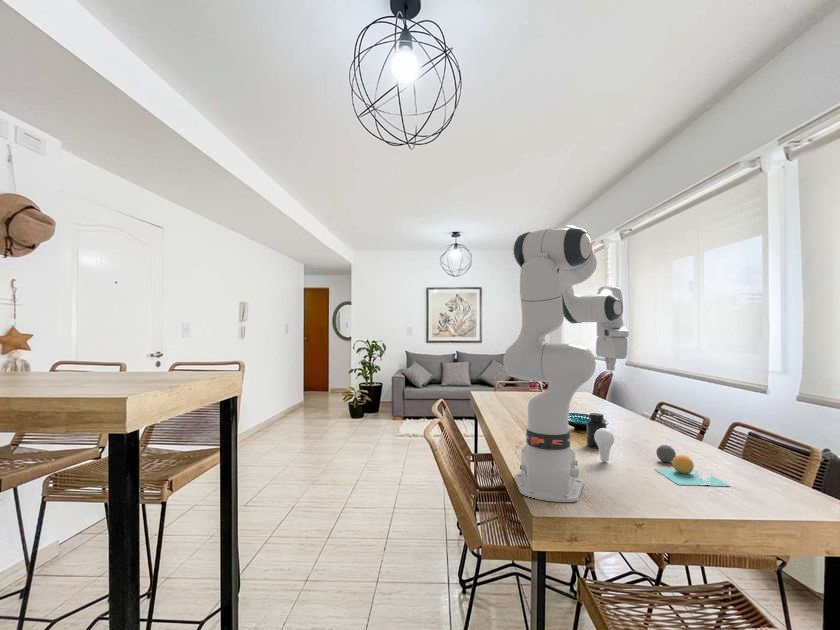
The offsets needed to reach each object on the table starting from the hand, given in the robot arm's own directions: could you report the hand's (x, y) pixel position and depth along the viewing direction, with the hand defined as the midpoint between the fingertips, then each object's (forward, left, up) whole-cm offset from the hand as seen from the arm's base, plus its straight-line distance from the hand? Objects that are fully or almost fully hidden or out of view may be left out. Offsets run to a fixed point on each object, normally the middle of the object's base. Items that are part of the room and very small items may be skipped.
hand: (610, 370), depth 152 cm
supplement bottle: (+8, +4, -29) cm, 31 cm away
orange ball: (-18, -17, -26) cm, 36 cm away
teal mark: (-22, -18, -29) cm, 41 cm away
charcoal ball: (-7, -16, -26) cm, 31 cm away
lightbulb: (-13, +4, -29) cm, 32 cm away
